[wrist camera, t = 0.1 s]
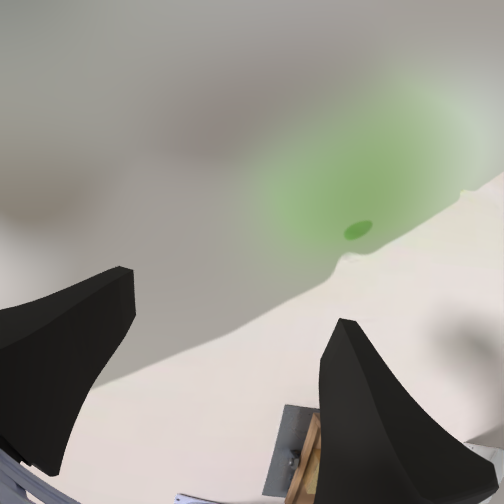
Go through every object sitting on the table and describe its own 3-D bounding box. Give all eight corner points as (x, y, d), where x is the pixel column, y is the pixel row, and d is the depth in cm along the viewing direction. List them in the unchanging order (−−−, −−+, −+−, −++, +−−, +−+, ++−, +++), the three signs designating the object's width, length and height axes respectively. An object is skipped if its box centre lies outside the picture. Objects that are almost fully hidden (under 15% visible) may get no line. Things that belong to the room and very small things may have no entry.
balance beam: (322, 498, 30) (331, 519, 24) (283, 495, 30) (287, 518, 25) (353, 413, 33) (368, 427, 28) (311, 409, 34) (321, 424, 28)
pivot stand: (339, 498, 31) (349, 510, 26) (261, 494, 31) (264, 507, 27) (362, 413, 36) (376, 416, 32) (284, 404, 37) (290, 409, 32)
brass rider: (330, 480, 29) (338, 494, 25) (302, 478, 29) (307, 493, 25) (341, 450, 30) (350, 463, 26) (312, 448, 30) (318, 462, 26)
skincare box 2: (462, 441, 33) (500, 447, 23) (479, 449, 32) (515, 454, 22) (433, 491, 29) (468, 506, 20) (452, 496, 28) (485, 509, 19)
